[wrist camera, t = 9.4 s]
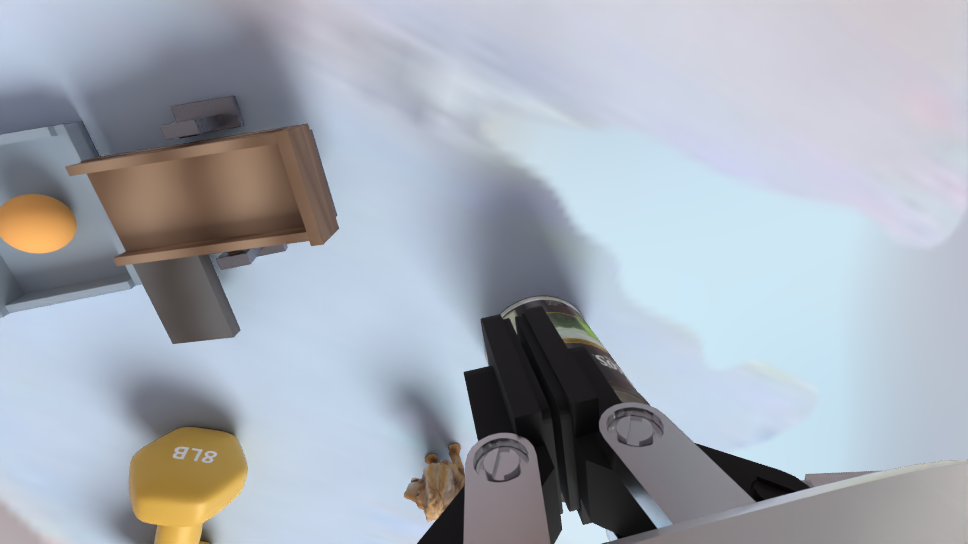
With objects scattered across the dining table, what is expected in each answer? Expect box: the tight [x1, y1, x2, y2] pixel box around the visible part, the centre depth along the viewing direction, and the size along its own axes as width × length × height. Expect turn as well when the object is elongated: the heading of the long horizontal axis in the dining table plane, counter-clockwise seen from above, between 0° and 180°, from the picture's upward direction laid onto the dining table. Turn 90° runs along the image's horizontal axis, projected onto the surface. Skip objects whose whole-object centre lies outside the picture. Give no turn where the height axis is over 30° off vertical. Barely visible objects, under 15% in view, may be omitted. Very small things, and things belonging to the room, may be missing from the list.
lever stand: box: [160, 96, 288, 270], centre depth 33 cm, size 4×12×6 cm, turn 9°
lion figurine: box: [404, 443, 465, 522], centre depth 46 cm, size 15×5×9 cm, turn 17°
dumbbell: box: [128, 427, 248, 544], centre depth 42 cm, size 19×9×8 cm, turn 160°
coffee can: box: [485, 296, 650, 502], centre depth 39 cm, size 10×10×14 cm
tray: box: [0, 121, 142, 318], centre depth 32 cm, size 10×12×3 cm
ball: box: [0, 194, 77, 253], centre depth 32 cm, size 4×4×4 cm
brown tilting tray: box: [65, 124, 339, 344], centre depth 32 cm, size 15×14×4 cm
